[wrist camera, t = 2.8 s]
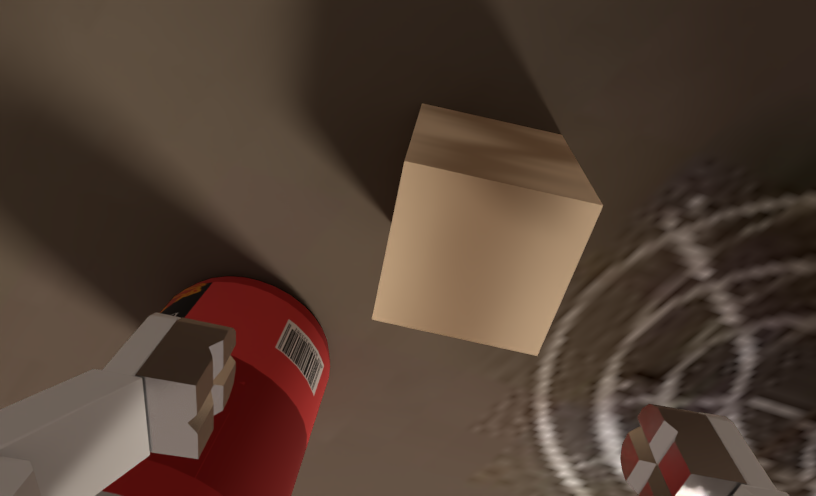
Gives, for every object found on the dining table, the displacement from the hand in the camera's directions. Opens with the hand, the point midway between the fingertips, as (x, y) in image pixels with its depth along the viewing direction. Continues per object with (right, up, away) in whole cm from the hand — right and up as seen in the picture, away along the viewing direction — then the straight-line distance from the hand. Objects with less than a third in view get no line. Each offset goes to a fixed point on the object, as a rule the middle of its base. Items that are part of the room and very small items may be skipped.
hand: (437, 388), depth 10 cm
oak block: (+2, +5, +9) cm, 10 cm away
